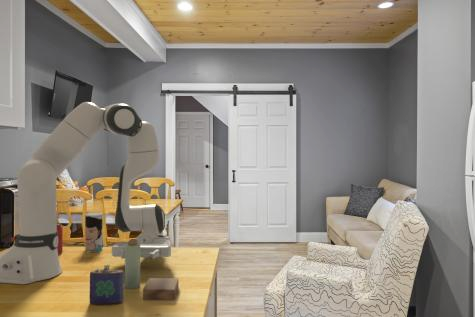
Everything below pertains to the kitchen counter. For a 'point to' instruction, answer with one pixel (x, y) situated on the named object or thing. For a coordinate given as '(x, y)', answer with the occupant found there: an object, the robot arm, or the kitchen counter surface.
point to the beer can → (59, 238)
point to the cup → (93, 231)
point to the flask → (106, 286)
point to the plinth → (160, 289)
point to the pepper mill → (132, 264)
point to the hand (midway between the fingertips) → (137, 256)
